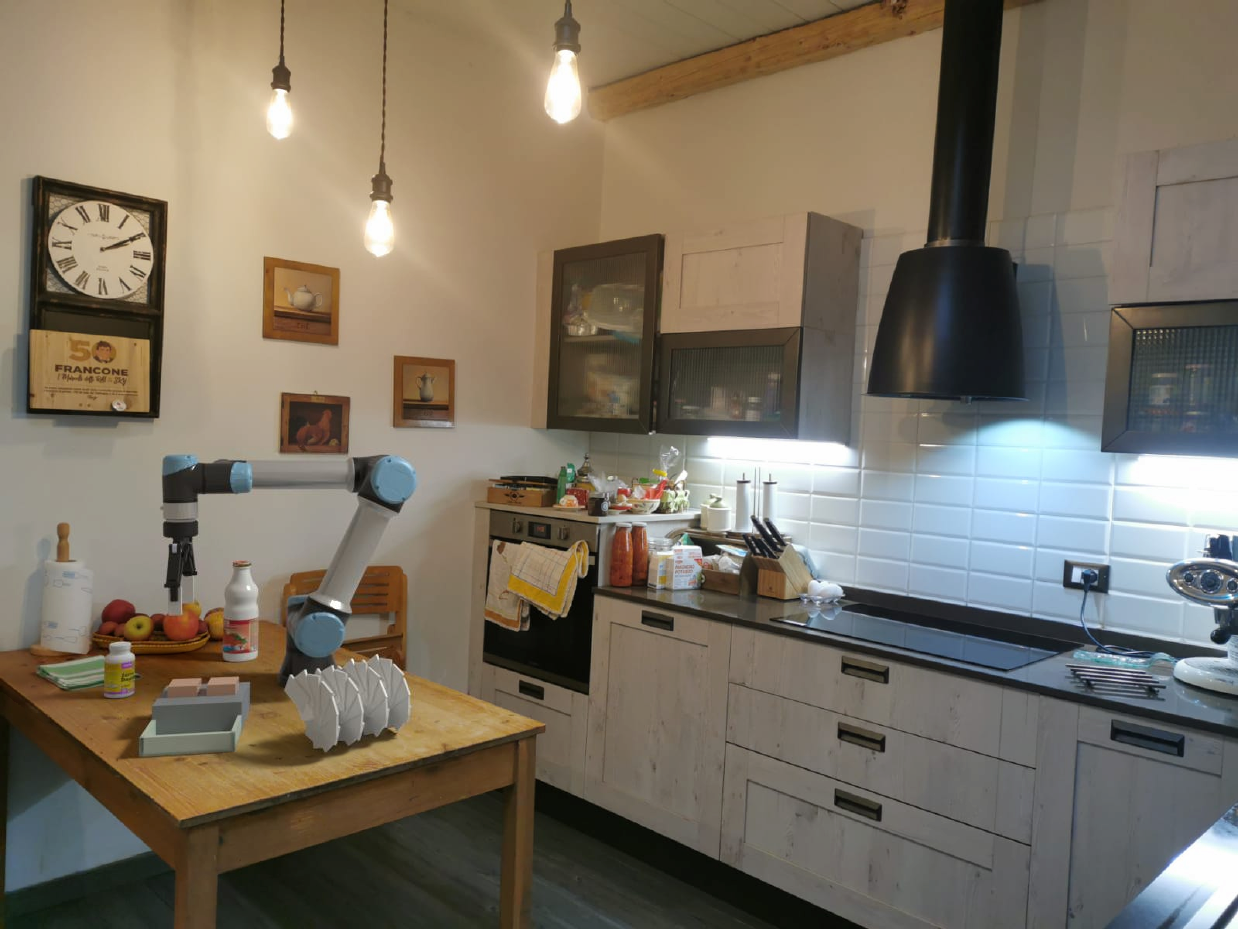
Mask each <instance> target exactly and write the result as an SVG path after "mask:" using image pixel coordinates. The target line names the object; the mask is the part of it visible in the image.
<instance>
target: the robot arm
mask: <svg viewBox="0 0 1238 929" xmlns="http://www.w3.org/2000/svg"><path fill="white" fill-rule="evenodd" d="M161 483H162V484H161V485H162V505H161V506H160V508H159V509H160V510H161V511H162V518H163V519H164V521H163V522H162V535H163V537H164V538H165V539H172V543H169V544H168V558H167V569H166V577H165V578H166V579H165V583H164V584H163V588H165V589H167V592H168V593H167V594H168V595H167V597H168V598H167V599H168V600H167V601H168V616H170V617H171V616H182V615H183V604H194V603H195V576H198V570H197V569H196V561H195V553H194V552H195V551H194V546H193V543H194V542H193V540H194V538H193V537H197V536H198V535H199V521H198V520H196V519H197V518H199V495H226V494H228V495H231V494H234V495H239V494H249V493H251V491H252V490H345V491H347V492H348V493H350V494H354V493H355V494H356V493H357V495H356V498H357V501H358V506H357V509H356V510H355V512H354V514H353V517H352V518H351V521H350V523H349V525H348V527H347V529H346V531H345V532H344V535H343V538H342V539H341V541H340V543H339V545H338V547H337V550H336V552H335V553H334V556H333V558H332V560H331V561H330V564H329V567H328V568H327V570H326V572H325V574H324V576H323V579H322V580H321V582H320V584H319V587H318V589H317V590H316V591H313V592H311V593H308V594H298V595H291V596H290V597H288V598H287V600H286V606H285V609H286V622H285V623H286V627H285V629H286V630H285V632H286V633H285V654H284V657H283V660H282V663H281V664H280V668H279V671H278V674H277V675H278V678H277V680H278V681H277V683H278V684H279V685H280V686H283V687H286V684H287V681H288V679H289V676H290V675H293V677H296V676H297V675H298V674H299V673H301V672H302V671H303V670H307V674H312V675H314V674H315V672H316V670H317V669H318V668H319V669H320V671H323V670H325V669H326V668H328V667H330V666H331V665H334V669H335V670H336V669H337V666H338V665H337V663H336V660H335V657H334V653H335V652H336V651H338V650H339V649H340V647H341V646H342V644H343V643H344V640H345V635H346V634H345V633H346V629H345V628H346V626H347V624H348V622H349V619H350V617H351V615H352V613H353V611H352V606H351V601H352V599H353V598H354V595H355V592H356V591H357V589H358V586H359V584H360V582H361V580H362V578H363V576H364V574H365V572H366V570H367V568H368V566H369V564H370V561H371V560H372V558H373V555H374V553H375V551H376V549H377V547H378V545H379V542H380V540H381V538H382V537H383V535H384V532H385V531H386V528H387V527H388V524H389V522H390V520H391V519H392V518H393V517H397V516H398V515H400V513H401V510H402V508H403V507H404V504H405V502H407V501H408V500H409V499H410V498H411V497H412V496H413V495H414V493H415V491H416V488H417V486H418V476H417V473H416V470H415V468H414V467H413V465H412V464H411V463H410V462H408V461H407V460H406V459H404V458H402V457H399V456H397V455H390V454H377V455H371V456H369V455H368V456H355V457H353V456H351V457H350V456H349V458H348V459H346V460H280V459H279V460H278V459H276V460H274V459H273V460H267V459H266V460H265V459H264V460H263V459H262V460H261V459H260V460H259V459H258V460H257V459H256V460H255V459H254V460H253V459H251V460H250V459H245V460H243V459H225V458H220V459H219V458H218V459H216V460H214V461H213V462H208V463H207V462H206V463H205V462H199V460H198V457H197V455H195V454H167V455H165V456H164V458H162V470H161Z"/></svg>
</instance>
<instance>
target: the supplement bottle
mask: <svg viewBox="0 0 1238 929" xmlns="http://www.w3.org/2000/svg"><path fill="white" fill-rule="evenodd" d="M131 648H132V643H131V642H129V641H115V642H111V643H110V644H109V646H108V650H109V653H108V654H107V655H106V656H104V657H105V661H104V685H103V695H104V697H105V698H108V699H123V698H127V697H130V696H132V695H133V694H134V693H135V673H136V672H135V671H136V656H135V654H134V653H133V652H131Z"/></svg>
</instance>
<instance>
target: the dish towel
mask: <svg viewBox="0 0 1238 929" xmlns="http://www.w3.org/2000/svg"><path fill="white" fill-rule="evenodd" d="M105 657H106V656H104V655H102V654H99V655H94V656H88V657H84V658H79V659H74V660H68V661H64V662H58V663H51V664H43V665H38V666H36V672H35V674H37V675H39V676H40V677H42V678H44V679H46V680H48V681H50V682H51V683H53V684H55V685H57V687H59V688H60V689H64V690H65V691H70V692H75V691H81V690H84V689H85V690H86V689H90V688H91V689H92V688H96V687H102V686H104V661H105ZM140 679H142V675H140V674H139V673H136V672H135V680H140Z"/></svg>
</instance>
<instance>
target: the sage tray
mask: <svg viewBox="0 0 1238 929" xmlns="http://www.w3.org/2000/svg"><path fill="white" fill-rule="evenodd" d="M241 718H242V715H238V716H237V718H236V721H235V723H234V725H233V728H232V730H231V731H220V732H202V733H184V734H166V735H156V720H152V719H151V720H150V722H149V723H148V724H147V726H146V728H145V729H144V730H143V732H142V734H141V735H140V737H139V738H138V739H139V740H138V758H152V757H164V756H165V757H169V756H182V755H184V756H185V755H197V754H198V755H201V754H216V753H217V754H218V753H228V752H229V753H234V752H235V751H236V748H237V746H238V742H239V740H240V738H241V734H242V732H241Z"/></svg>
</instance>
